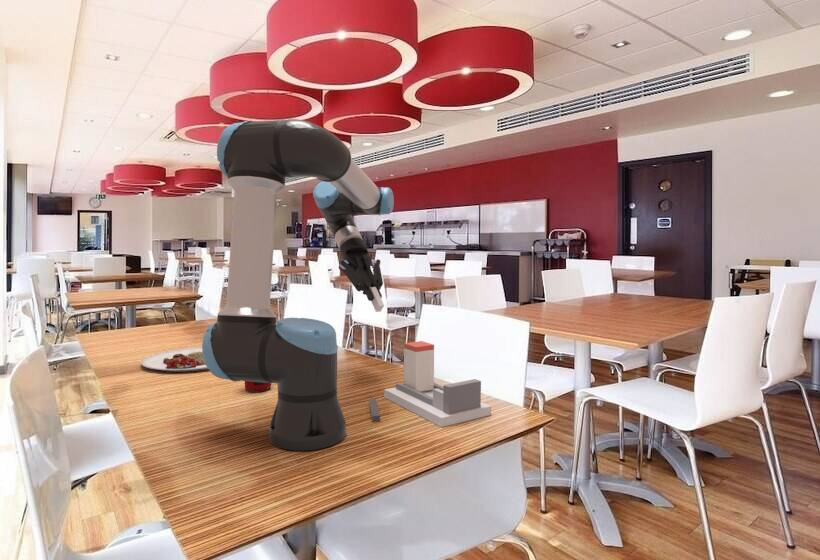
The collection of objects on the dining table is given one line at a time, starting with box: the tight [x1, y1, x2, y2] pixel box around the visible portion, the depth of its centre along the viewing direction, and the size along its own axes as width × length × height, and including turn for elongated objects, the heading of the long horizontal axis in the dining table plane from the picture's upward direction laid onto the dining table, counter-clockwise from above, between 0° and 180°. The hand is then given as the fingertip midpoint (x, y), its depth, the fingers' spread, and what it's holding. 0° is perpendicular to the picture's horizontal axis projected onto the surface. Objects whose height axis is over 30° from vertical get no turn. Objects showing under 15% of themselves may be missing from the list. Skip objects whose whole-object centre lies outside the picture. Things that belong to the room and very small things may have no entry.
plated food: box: [141, 347, 209, 373], centre depth 162 cm, size 30×30×3 cm
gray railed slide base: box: [384, 378, 492, 428], centre depth 120 cm, size 24×14×8 cm, turn 33°
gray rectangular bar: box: [368, 398, 381, 423], centre depth 116 cm, size 12×2×2 cm, turn 8°
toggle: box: [403, 340, 435, 392], centre depth 125 cm, size 5×5×11 cm
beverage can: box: [244, 381, 272, 393], centre depth 132 cm, size 7×7×12 cm
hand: (380, 308), depth 136 cm, fingers closed
